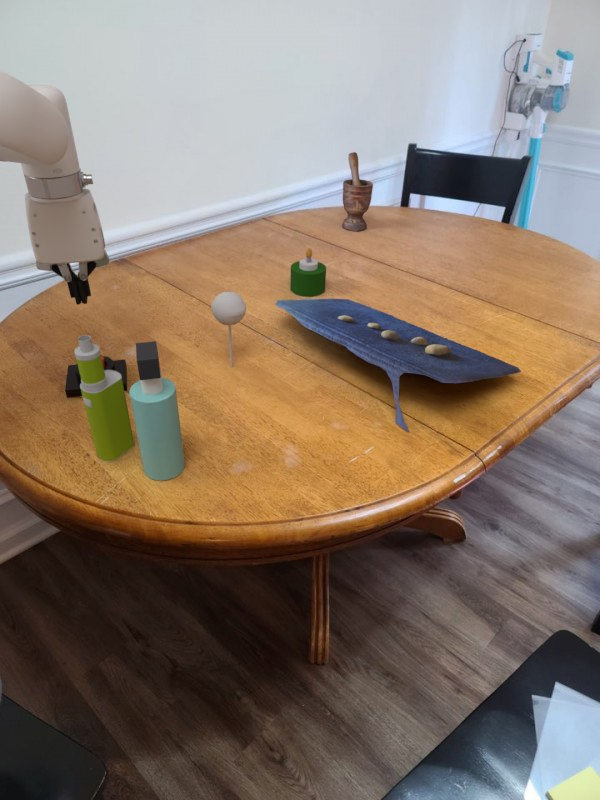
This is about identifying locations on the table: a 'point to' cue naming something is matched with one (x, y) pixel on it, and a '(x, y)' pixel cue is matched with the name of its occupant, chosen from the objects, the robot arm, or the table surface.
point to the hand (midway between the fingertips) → (82, 300)
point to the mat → (394, 344)
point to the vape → (103, 403)
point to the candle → (308, 277)
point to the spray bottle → (156, 417)
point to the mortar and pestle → (356, 197)
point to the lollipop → (228, 312)
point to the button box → (75, 379)
